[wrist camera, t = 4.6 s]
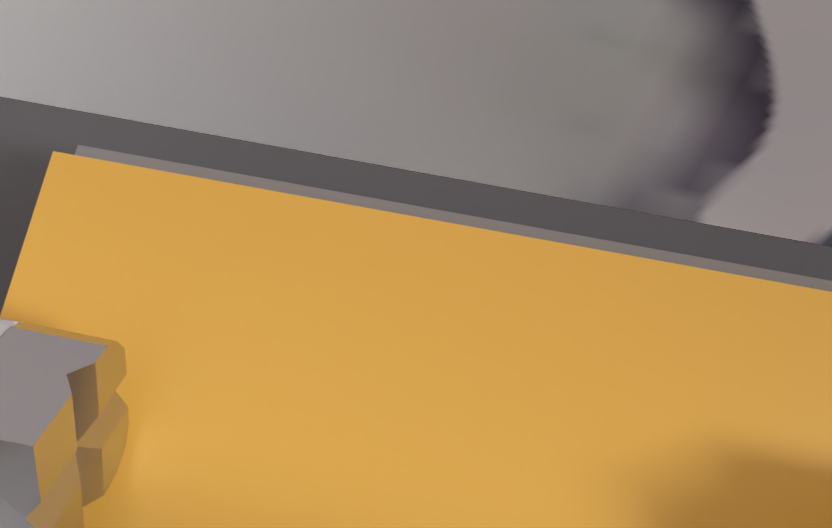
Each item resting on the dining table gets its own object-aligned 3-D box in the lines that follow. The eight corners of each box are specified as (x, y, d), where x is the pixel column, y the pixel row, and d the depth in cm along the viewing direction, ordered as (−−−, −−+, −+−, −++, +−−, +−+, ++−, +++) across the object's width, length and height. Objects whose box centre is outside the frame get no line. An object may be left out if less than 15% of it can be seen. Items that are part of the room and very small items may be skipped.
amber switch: (938, 347, 11) (1029, 326, 9) (936, 742, 10) (1044, 794, 8) (98, 195, 11) (52, 151, 9) (-12, 567, 10) (-88, 586, 8)
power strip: (735, 305, 19) (971, 195, 12) (705, 723, 17) (979, 938, 9) (-451, 90, 19) (-1002, -160, 12) (-648, 474, 17) (-1506, 480, 9)
